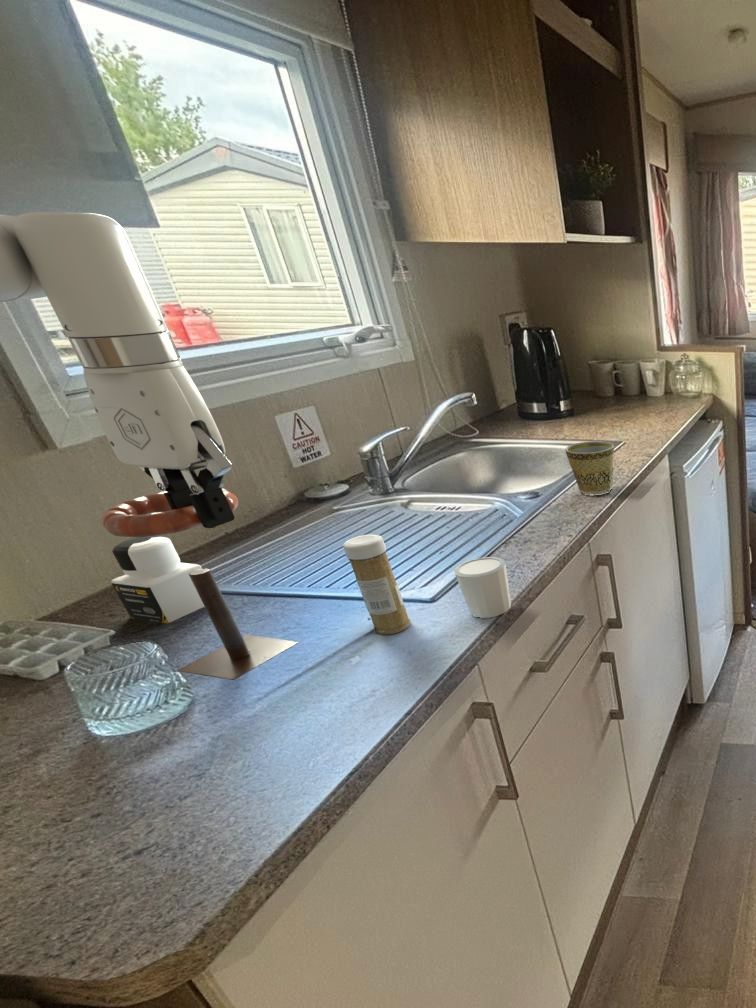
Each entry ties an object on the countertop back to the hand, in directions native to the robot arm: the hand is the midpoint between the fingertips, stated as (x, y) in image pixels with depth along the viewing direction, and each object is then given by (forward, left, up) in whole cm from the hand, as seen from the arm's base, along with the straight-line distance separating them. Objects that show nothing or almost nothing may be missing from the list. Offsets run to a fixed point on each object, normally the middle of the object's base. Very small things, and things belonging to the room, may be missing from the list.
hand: (207, 521), depth 75 cm
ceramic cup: (+6, +73, -20) cm, 76 cm away
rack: (-4, -1, -20) cm, 20 cm away
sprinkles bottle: (+8, +11, -20) cm, 24 cm away
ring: (-5, 0, +1) cm, 5 cm away
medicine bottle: (-26, +7, -20) cm, 34 cm away
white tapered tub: (+18, +19, -20) cm, 33 cm away
